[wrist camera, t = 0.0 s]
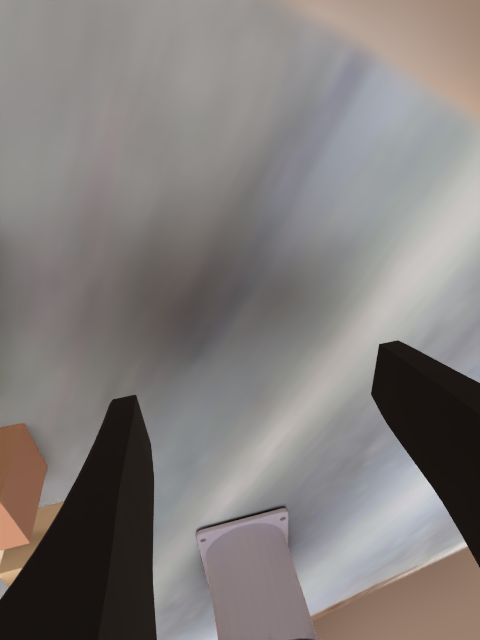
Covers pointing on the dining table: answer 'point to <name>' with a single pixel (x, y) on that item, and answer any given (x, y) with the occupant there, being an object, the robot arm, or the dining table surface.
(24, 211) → the dining table surface
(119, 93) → the dining table surface
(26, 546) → the maple block
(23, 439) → the terracotta block
